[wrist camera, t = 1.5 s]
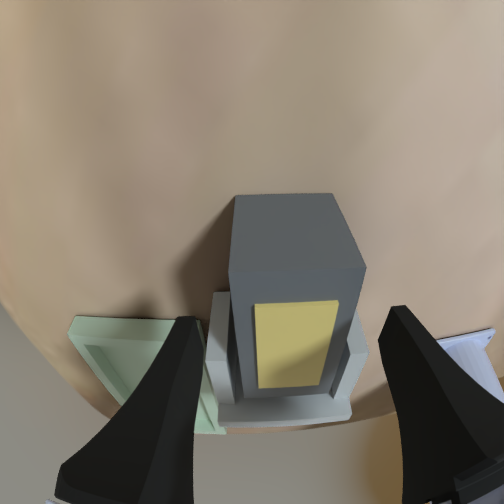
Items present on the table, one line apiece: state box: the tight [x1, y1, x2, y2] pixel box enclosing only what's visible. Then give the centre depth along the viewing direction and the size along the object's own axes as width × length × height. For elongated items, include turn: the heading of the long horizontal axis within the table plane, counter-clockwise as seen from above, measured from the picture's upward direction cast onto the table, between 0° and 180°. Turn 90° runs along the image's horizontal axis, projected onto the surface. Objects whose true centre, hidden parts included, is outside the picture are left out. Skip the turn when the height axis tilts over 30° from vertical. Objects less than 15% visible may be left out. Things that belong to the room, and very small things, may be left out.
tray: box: [67, 316, 227, 434], centre depth 24 cm, size 17×10×2 cm, turn 2°
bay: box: [205, 292, 370, 427], centre depth 17 cm, size 6×8×6 cm
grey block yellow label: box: [228, 193, 366, 398], centre depth 15 cm, size 9×5×6 cm, turn 2°
